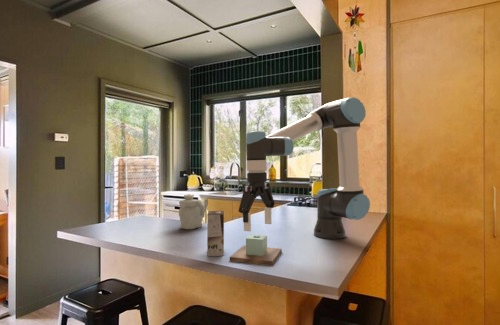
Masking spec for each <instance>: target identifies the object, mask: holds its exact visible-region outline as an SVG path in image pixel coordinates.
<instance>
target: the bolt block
mask: <svg viewBox="0 0 500 325" xmlns="http://www.w3.org/2000/svg"><path fill="white" fill-rule="evenodd" d="M282 253H283V251H282V248H279V247H277V248H276V247H267V252H266V253H265V254H264V255H263V256H257V255H247V254H246V245H242V246H241V247H240V248H239V249H238V250H236V251H235V252H234V253H233V254H232V255H230V256H229V262H236V263H243V264H245V263H246V264H255V265H256V264H257V265H263V266H264V265H265V266H272V267H273V266H274V264H276V262H277V260H278V259H279V257H280V256H281V254H282Z"/></svg>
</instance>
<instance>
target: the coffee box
mask: <svg viewBox="0 0 500 325" xmlns="http://www.w3.org/2000/svg"><path fill="white" fill-rule="evenodd" d="M224 213H225V211H224V210H209V211H208V212H207V214H206V217H207V218H206V219H207V222H206V223H207V226H206V227H207V232H206V234H207V238H206V239H207V240H206V242H207V244H206V245H207V246H206V247H207V249H206V250H207V252H206V253H207V257H222V256H224V247H225V246H224V245H225V244H224V243H225V214H224Z"/></svg>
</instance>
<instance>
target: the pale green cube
mask: <svg viewBox="0 0 500 325" xmlns="http://www.w3.org/2000/svg"><path fill="white" fill-rule="evenodd" d="M245 246H246V254H247V255H257V256H263V255H264V254H265V253H266V252H267V248H268V235H265V234H263V235H262V234H249V235H248V236H247V237H245Z"/></svg>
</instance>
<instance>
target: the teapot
mask: <svg viewBox="0 0 500 325" xmlns="http://www.w3.org/2000/svg"><path fill="white" fill-rule="evenodd" d="M194 197H195V194H190V193H188V194H184V195H183V198H184V199H182V200H179V202H178V204H179V209H178V216H179V221H180V228H181V229H184V230H194V229H196V228H197V229H199V228H201V227H203V219H204V218H205V214H206V212H207V208H208V205H209V200H208V199H209V198H207V197H205V198H204V201H203V200H201V199H194Z"/></svg>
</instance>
